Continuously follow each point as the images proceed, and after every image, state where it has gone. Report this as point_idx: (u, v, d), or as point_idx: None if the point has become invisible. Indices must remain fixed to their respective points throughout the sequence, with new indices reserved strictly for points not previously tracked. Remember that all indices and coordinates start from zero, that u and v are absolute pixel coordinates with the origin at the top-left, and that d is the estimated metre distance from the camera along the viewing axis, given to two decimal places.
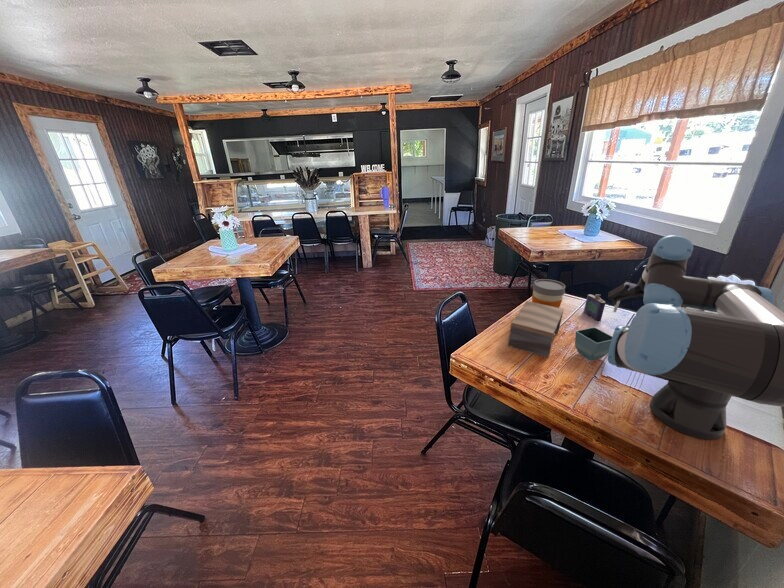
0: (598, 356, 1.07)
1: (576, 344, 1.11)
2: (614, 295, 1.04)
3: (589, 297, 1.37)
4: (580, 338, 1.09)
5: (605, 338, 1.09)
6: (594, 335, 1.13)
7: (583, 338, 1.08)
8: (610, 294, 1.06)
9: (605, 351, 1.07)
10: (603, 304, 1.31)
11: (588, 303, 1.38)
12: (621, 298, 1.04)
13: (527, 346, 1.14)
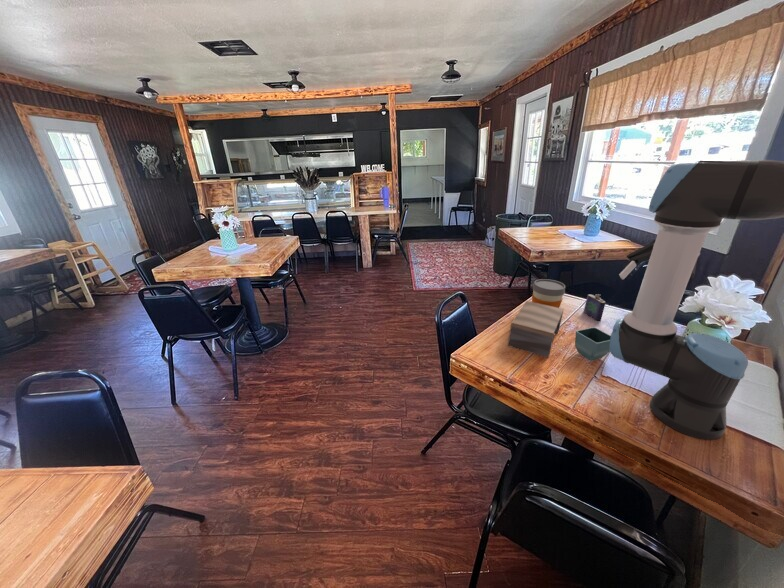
0: (598, 356, 1.07)
1: (576, 344, 1.11)
2: (636, 251, 1.10)
3: (589, 297, 1.37)
4: (580, 338, 1.09)
5: (605, 338, 1.09)
6: (594, 335, 1.13)
7: (583, 338, 1.08)
8: None
9: (605, 351, 1.07)
10: (603, 304, 1.31)
11: (588, 303, 1.38)
12: (639, 255, 1.09)
13: (527, 346, 1.14)
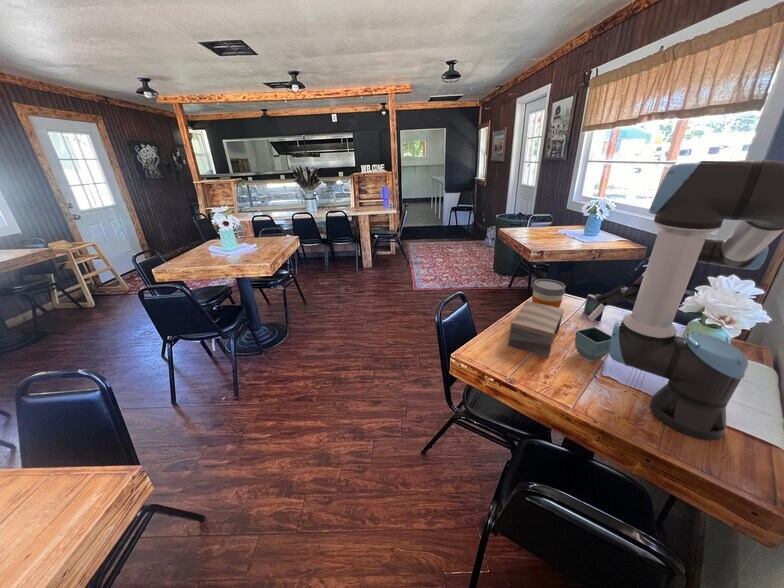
0: (598, 356, 1.07)
1: (576, 344, 1.11)
2: (604, 294, 1.15)
3: (589, 297, 1.37)
4: (580, 338, 1.09)
5: (605, 338, 1.09)
6: (594, 335, 1.13)
7: (583, 338, 1.08)
8: None
9: (605, 351, 1.07)
10: None
11: (588, 303, 1.38)
12: (608, 299, 1.14)
13: (527, 346, 1.14)
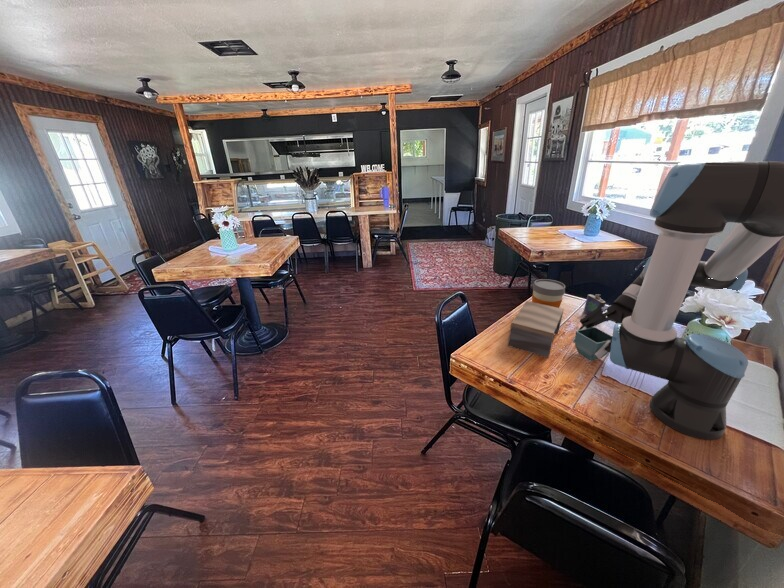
0: None
1: (576, 344, 1.11)
2: (587, 316, 1.14)
3: (589, 297, 1.37)
4: (580, 338, 1.09)
5: (605, 338, 1.09)
6: (594, 335, 1.13)
7: (583, 338, 1.08)
8: None
9: None
10: None
11: (588, 303, 1.38)
12: (590, 321, 1.12)
13: (527, 346, 1.14)
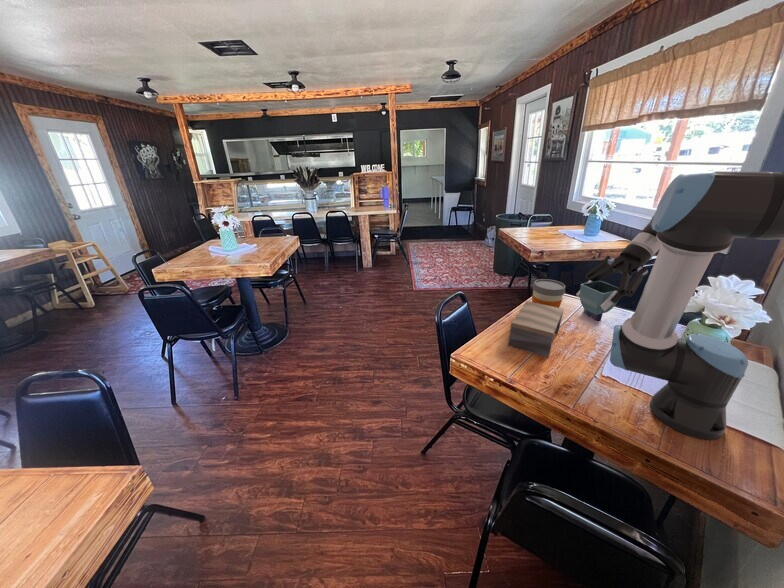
0: None
1: (581, 298, 1.07)
2: (592, 270, 1.09)
3: None
4: (585, 291, 1.04)
5: (612, 290, 1.04)
6: (600, 289, 1.08)
7: (588, 290, 1.03)
8: None
9: None
10: None
11: None
12: (596, 274, 1.07)
13: (527, 346, 1.14)
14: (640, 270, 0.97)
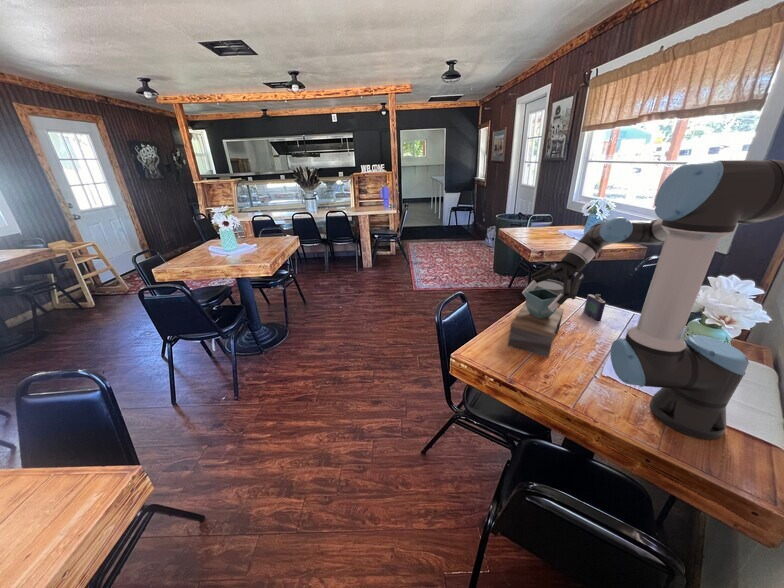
0: (545, 314, 1.15)
1: (526, 304, 1.19)
2: (537, 272, 1.22)
3: (589, 297, 1.37)
4: (529, 298, 1.16)
5: (553, 297, 1.16)
6: (544, 296, 1.20)
7: (531, 297, 1.15)
8: None
9: None
10: (603, 304, 1.31)
11: (588, 303, 1.38)
12: (539, 276, 1.20)
13: (527, 346, 1.14)
14: (577, 275, 1.09)
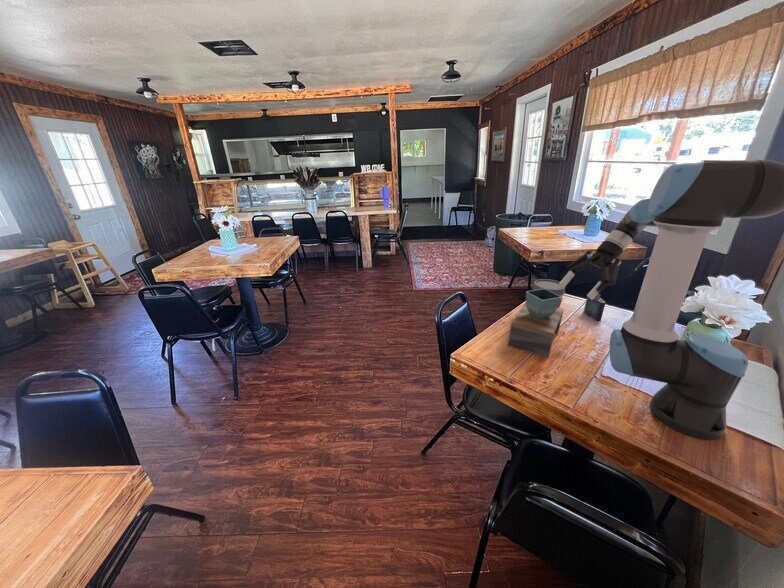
0: (545, 314, 1.15)
1: (527, 304, 1.19)
2: (573, 262, 1.24)
3: None
4: (529, 298, 1.16)
5: (553, 298, 1.16)
6: (544, 296, 1.20)
7: (532, 297, 1.15)
8: None
9: (552, 309, 1.14)
10: (603, 304, 1.31)
11: (588, 303, 1.38)
12: (575, 266, 1.22)
13: (527, 346, 1.14)
14: (614, 262, 1.10)
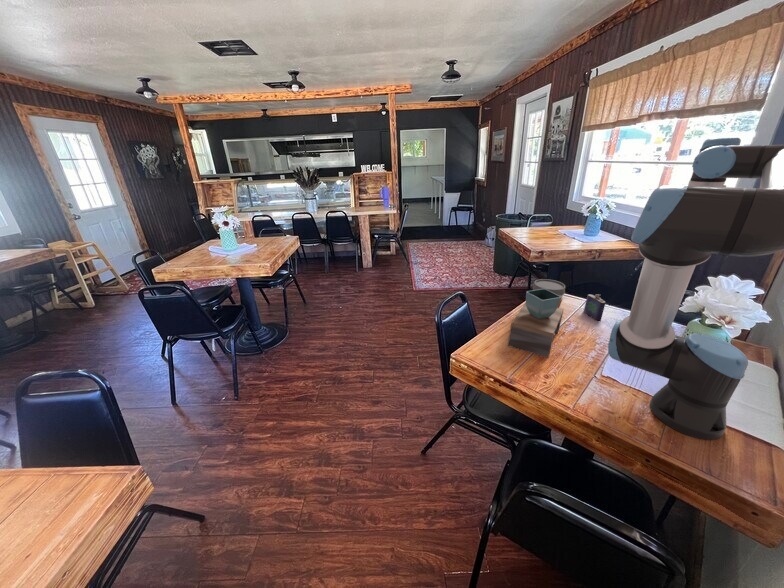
0: (545, 314, 1.15)
1: (527, 304, 1.19)
2: None
3: (589, 297, 1.37)
4: (529, 298, 1.16)
5: (553, 298, 1.16)
6: (544, 296, 1.20)
7: (532, 297, 1.15)
8: None
9: (552, 309, 1.14)
10: (603, 304, 1.31)
11: (588, 303, 1.38)
12: None
13: (527, 346, 1.14)
14: None
